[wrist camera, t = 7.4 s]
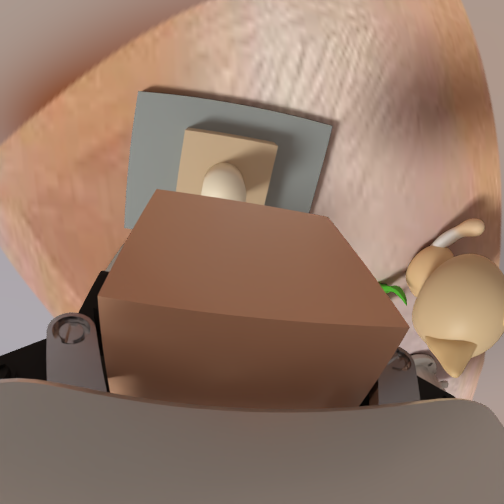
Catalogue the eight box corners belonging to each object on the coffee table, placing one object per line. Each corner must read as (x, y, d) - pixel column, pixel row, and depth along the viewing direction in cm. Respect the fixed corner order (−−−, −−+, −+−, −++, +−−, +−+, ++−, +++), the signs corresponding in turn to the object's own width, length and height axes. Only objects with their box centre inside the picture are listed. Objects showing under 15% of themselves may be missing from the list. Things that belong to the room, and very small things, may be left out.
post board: (328, 124, 25) (358, 135, 20) (295, 247, 31) (311, 285, 25) (141, 91, 23) (117, 91, 17) (127, 223, 28) (106, 257, 22)
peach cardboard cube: (327, 216, 11) (409, 327, 6) (285, 342, 14) (314, 461, 9) (156, 189, 10) (97, 296, 5) (147, 327, 13) (123, 453, 8)
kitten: (382, 326, 37) (434, 419, 24) (353, 273, 33) (418, 378, 20) (472, 262, 34) (544, 333, 21) (458, 200, 30) (553, 267, 17)
